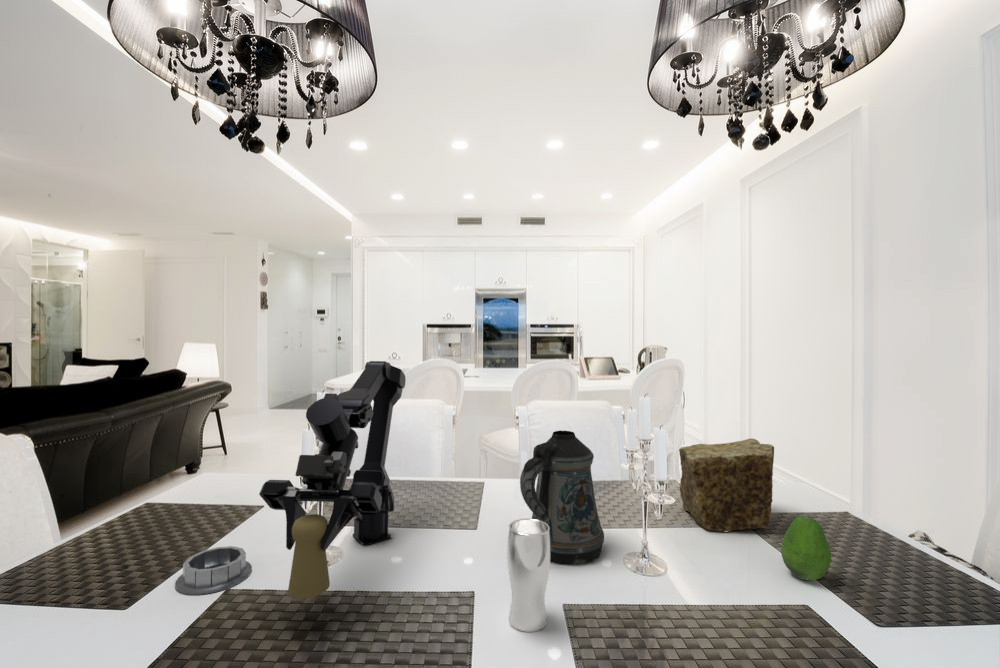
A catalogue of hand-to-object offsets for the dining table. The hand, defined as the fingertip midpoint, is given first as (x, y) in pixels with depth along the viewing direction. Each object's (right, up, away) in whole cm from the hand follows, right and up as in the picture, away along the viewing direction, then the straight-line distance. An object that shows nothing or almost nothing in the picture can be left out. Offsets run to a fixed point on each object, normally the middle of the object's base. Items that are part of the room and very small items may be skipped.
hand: (305, 549), depth 70 cm
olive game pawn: (0, -7, +1) cm, 7 cm away
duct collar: (-23, -12, +15) cm, 30 cm away
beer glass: (+34, -13, +3) cm, 37 cm away
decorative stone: (+86, -15, +47) cm, 99 cm away
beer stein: (+43, -14, +28) cm, 53 cm away
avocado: (+89, -14, +18) cm, 92 cm away
